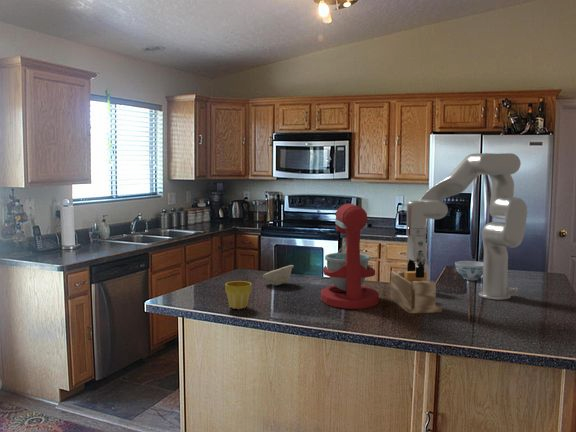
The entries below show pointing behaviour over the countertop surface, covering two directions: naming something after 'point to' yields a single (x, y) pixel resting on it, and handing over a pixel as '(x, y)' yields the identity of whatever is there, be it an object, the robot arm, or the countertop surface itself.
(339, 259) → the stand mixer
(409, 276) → the upright wooden block
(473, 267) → the chinaware
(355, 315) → the countertop surface
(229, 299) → the plant pot
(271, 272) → the bowl
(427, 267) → the pill bottle
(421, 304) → the wooden vise
